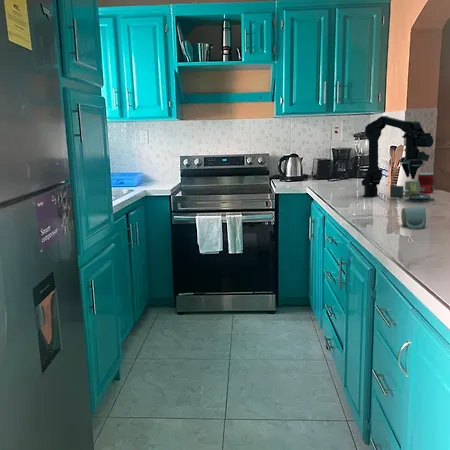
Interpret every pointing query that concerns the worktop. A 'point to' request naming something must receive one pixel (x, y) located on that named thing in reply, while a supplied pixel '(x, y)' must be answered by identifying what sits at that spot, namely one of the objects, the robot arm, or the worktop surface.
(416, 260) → the worktop surface
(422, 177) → the canned food
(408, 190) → the block-headed metal hammer
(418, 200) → the wheel base
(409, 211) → the ceramic mug
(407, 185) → the grey-green hollow piece
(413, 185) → the handwheel
